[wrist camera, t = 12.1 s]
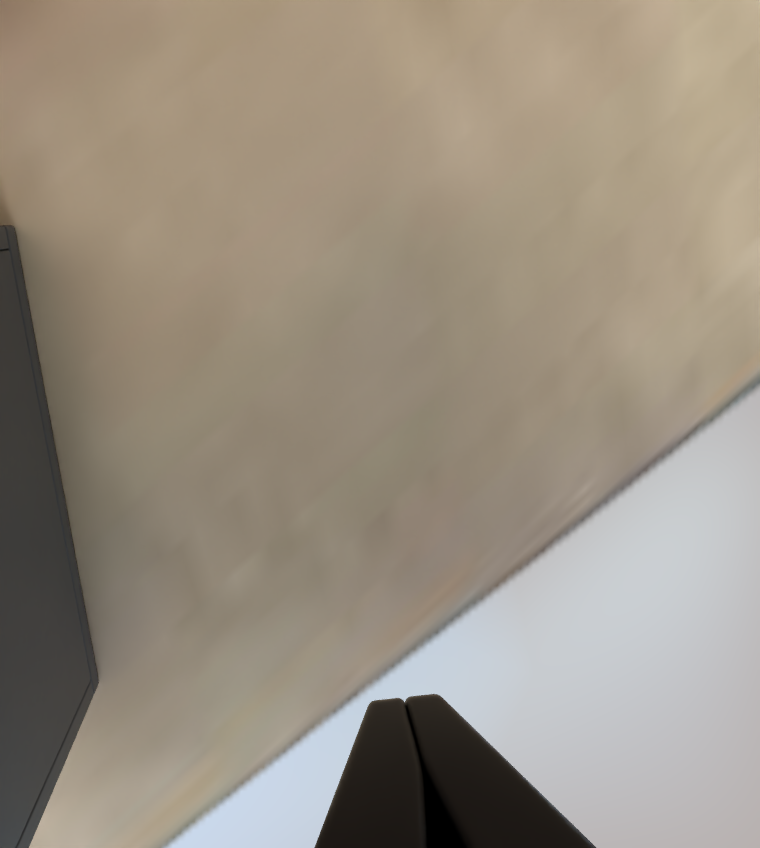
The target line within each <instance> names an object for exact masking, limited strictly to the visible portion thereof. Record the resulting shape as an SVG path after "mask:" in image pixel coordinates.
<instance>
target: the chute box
mask: <svg viewBox="0 0 760 848" xmlns="http://www.w3.org/2000/svg"><path fill="white" fill-rule="evenodd" d="M98 684H99V682H98V676H97V671H96V665H95V660H94V655H93V649H92V644H91V638H90V633H89V628H88V622H87V617H86V612H85V606H84V601H83V595H82V590H81V585H80V579H79V574H78V568H77V563H76V558H75V552H74V547H73V542H72V536H71V531H70V525H69V520H68V515H67V509H66V504H65V498H64V493H63V488H62V482H61V477H60V472H59V466H58V461H57V455H56V450H55V445H54V439H53V434H52V429H51V423H50V418H49V412H48V407H47V402H46V396H45V391H44V385H43V380H42V375H41V369H40V364H39V359H38V353H37V348H36V342H35V337H34V332H33V326H32V321H31V315H30V310H29V305H28V299H27V294H26V289H25V283H24V278H23V272H22V267H21V262H20V256H19V251H18V245H17V240H16V235H15V229H14V227H13V226H12V225H3V226H0V848H29V846H30V843H31V841H32V839H33V836H34V834H35V832H36V829H37V827H38V825H39V822H40V820H41V817H42V815H43V813H44V810H45V808H46V806H47V803H48V801H49V799H50V796H51V794H52V792H53V789H54V787H55V785H56V782H57V780H58V778H59V775H60V773H61V771H62V768H63V766H64V764H65V761H66V759H67V757H68V754H69V752H70V749H71V747H72V745H73V742H74V740H75V738H76V735H77V733H78V731H79V728H80V726H81V724H82V721H83V719H84V717H85V714H86V712H87V710H88V707H89V705H90V703H91V700H92V698H93V694H94V693H95V691H96V688H97V686H98Z"/></svg>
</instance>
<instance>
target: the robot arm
mask: <svg viewBox="0 0 760 848" xmlns="http://www.w3.org/2000/svg"><path fill="white" fill-rule="evenodd" d="M315 848H596V847H595V846H594V845H593V844H592V843H591V842H590V841H589V840H588V839H587V838H586V837H585V836H584V835H583V834H582V833H581V832H580V831H579V830H578V829H576V827H575V826H574V825H572V823H570V822H569V821H568V820H567V819H566V818H565V817H564V816H563V815H562V814H561V813H560V812H559V811H558V810H557V809H556V808H555V807H554V806H553V805H552V804H551V803H550V802H549V801H548V800H547V799H546V798H545V797H544V796H543V795H542V794H541V793H540V792H539V791H538V790H537V789H536V788H535V787H533V786H532V785H531V784H530V783H529V782H528V781H527V780H526V779H525V778H524V777H523V776H522V775H521V774H520V773H519V772H518V771H517V770H516V769H515V768H514V767H513V766H512V765H511V764H510V763H509V762H508V761H506V759H505V758H504V757H503V756H502V755H501V754H500V753H499V752H497V751H496V750H495V749H494V748H493V747H492V746H491V745H490V744H489V743H488V742H487V741H486V740H485V739H484V738H483V737H482V736H481V735H480V734H479V733H478V732H477V731H476V730H475V729H474V728H473V727H472V726H471V725H470V724H469V723H468V722H466V720H464V718H463V717H462V716H460V715H459V714H458V713H457V712H456V711H455V710H454V709H453V708H452V707H451V706H450V705H449V704H448V703H447V702H446V701H445V700H444V699H443V698H442V697H441V696H439V695H437V694H431V695H421V696H413V697H408V698H407V699H406V701H405V702H404V701H403V700H402V699H400V698H395V699H385V700H376V701H372V702H371V703H370V704H369V706H368V708H367V710H366V713H365V716H364V718H363V721H362V724H361V726H360V729H359V732H358V734H357V737H356V739H355V742H354V745H353V747H352V750H351V753H350V755H349V758H348V761H347V763H346V766H345V769H344V771H343V774H342V776H341V779H340V782H339V785H338V787H337V790H336V792H335V795H334V798H333V800H332V803H331V806H330V808H329V811H328V814H327V816H326V819H325V822H324V824H323V827H322V830H321V832H320V835H319V838H318V840H317V843H316V845H315Z"/></svg>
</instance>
